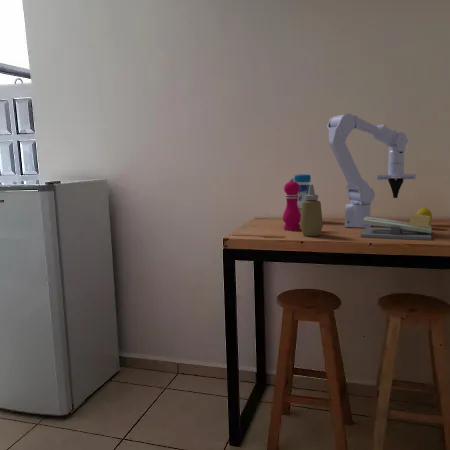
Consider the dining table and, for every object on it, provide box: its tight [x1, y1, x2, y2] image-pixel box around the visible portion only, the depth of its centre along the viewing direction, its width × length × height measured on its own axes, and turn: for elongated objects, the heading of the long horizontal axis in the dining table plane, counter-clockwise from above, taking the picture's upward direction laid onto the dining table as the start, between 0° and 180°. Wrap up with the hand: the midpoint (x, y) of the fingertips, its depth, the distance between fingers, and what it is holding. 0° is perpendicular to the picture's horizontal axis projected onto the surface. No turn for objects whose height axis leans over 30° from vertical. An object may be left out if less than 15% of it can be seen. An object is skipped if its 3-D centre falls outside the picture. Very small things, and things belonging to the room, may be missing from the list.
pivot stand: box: [360, 226, 432, 241], centre depth 160 cm, size 22×16×4 cm
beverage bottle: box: [293, 173, 312, 224], centre depth 195 cm, size 8×8×20 cm
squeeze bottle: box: [299, 184, 324, 237], centre depth 162 cm, size 8×8×18 cm
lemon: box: [416, 206, 433, 226], centre depth 170 cm, size 6×6×8 cm
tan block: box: [408, 213, 430, 228], centre depth 157 cm, size 6×5×4 cm
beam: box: [363, 216, 432, 234], centre depth 159 cm, size 22×9×2 cm, turn 67°
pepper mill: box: [282, 177, 301, 231], centre depth 176 cm, size 7×7×20 cm
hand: (395, 197), depth 183 cm, fingers closed
